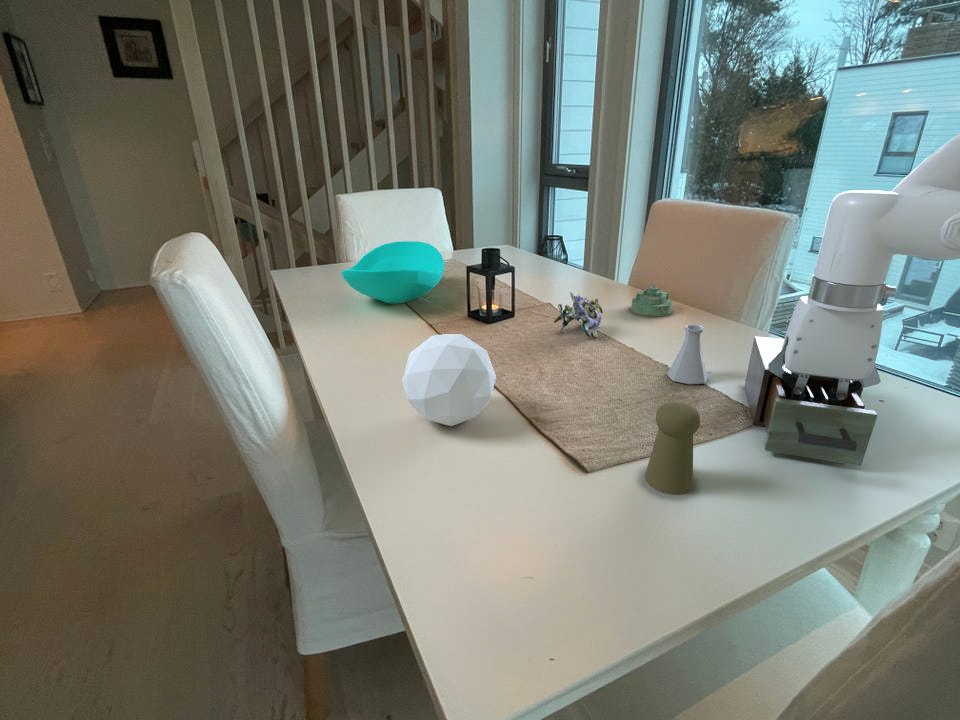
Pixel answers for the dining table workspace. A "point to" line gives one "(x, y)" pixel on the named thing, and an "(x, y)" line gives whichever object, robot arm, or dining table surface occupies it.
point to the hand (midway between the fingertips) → (810, 417)
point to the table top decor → (397, 271)
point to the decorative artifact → (652, 302)
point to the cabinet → (765, 375)
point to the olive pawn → (673, 448)
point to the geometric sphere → (449, 379)
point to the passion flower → (582, 314)
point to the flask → (690, 359)
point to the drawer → (816, 424)
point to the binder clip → (816, 396)
